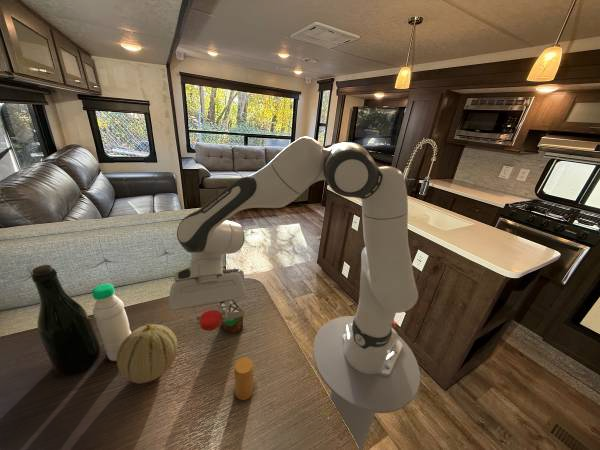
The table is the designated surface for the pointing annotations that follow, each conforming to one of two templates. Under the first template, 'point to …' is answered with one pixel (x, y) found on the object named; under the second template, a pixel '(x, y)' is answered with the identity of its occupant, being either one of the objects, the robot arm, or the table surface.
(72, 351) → the dark green glass bottle
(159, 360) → the cantaloupe
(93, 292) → the white milk bottle
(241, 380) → the orange cylinder
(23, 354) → the table surface
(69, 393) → the table surface
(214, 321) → the lid
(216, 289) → the robot arm
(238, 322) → the food container
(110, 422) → the table surface
